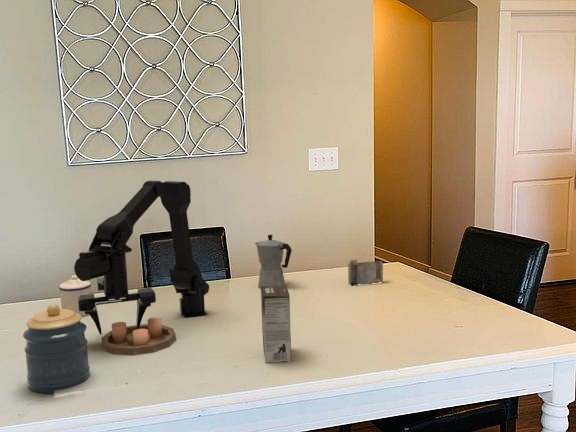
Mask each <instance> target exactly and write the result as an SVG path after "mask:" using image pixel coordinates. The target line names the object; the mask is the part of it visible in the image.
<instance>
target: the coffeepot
mask: <svg viewBox="0 0 576 432" xmlns="http://www.w3.org/2000/svg"><path fill="white" fill-rule="evenodd" d="M254 245H256V250H257V256H258V261H259V263H260V266H261V267H260V269H259V277H258V284H257V285H258V286H257V287H258V289H260V290H261V286H284V285H286V282H285V276H284V272H283V269H287V268H288V265H289V263H290V259H291V255H292V251H293V249H292V247H291V246H290V245H289V243H285V242H283V241H280V240H273V235H272V234H268V235H267V240H262V241H256V242H255V243H254ZM284 250H286V253H285V259H284ZM283 259H284V264H282V262H283Z"/></svg>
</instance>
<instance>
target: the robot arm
mask: <svg viewBox="0 0 576 432" xmlns="http://www.w3.org/2000/svg"><path fill="white" fill-rule="evenodd" d="M191 195H192V194H191V187H190V185H189V184H188V183H187V182H185V181H176V180H175V181H173V180H172V181H171V180H166V181H164V182H163V181H161V180H146V181H145V182H143V184H142V187H141V188H140V189H139V190H138V192H136V194H134V195H133V197H132V198H131V199H130V200H129V201H128V202H127V203H125V204H126V205H124V207H122V209H121V210H120V211H119V212H117V213H116V214H114V215H112V216H110V217H108V218H106V219H105V220H103V222H101V223H99V224H98V226H97V228H96V232H95V234H94V236H93V239H92V241H91V244H90V245H89V247H88V251H82V252H79V253H78V254H79V255H78V256H79V257H78V258H77V259H76V261H75V263H74V266H73V269H74V273H75V275H76V276H77V277H78V278H79V279H80V280H81V281H90V280H95V279H96V284H97V291H100V292H101V291H103V294H104V296H97V297H95V294H94V293H91V294H88V295H80V296H79V297H78V304H79V311H85V314H89V316H90V317H91V319H92V320H93V322H94V324H95V327H96V328H97V329H96V330H97V331H98V333H99V335H102V334H103V333H102V325H101V322H100V317H99V313H98V309H97V308H98V307H97V306H98V305H99V306H100V305H108V304H109V305H110V304H117V303H127V302H134V301H135V302H136V320H135V321H136V323H135V324H136V325H137V329H139V327H140V325H142V321H143V317H144V315H145V312H146V311H147V308H149V307H151V306H152V305H151V304H155V303H156V302H157V298H156V293H155V292H156V291H155V290H154V289H153V288H152V287H143V288H137V292H133V293H132V292H131V293H129V284H128V283H129V282H128V270H127V269H128V268H127V255H126V254H127V253H131V252H132V251H133V249H132V248H131V247H130V246H128V245H127V243H128V242H129V240H130V238H131V237H132V235H133V233H134V226H135V225H136V223H137V222H138V221H139V219H141V218H142V217H143V215H144V214H145V213H146V212H147V210H149V209H150V207H151V206H152V205H153V203H155V201H157V199H158V198H159V199H160V202H161V205H162V206H163V207H164V209H165V211H166V212H167V214H168V216H169V222H170V223H169V224H170V229H171V230H170V231H171V238H172V243H173V251H174V252H173V253H174V259H175V262H174V265H173V267H172V268H170V269H169V274H170V283H172V286H173V287H174V290H175V293H176V294H180V297H179V312H180V313H181V315H182V316H183V317H184V318H188V317H195V316H196V317H197V316H198V317H199V316H204V315H207V312H206V311H205V310H206V309H205V307H206V306H205V296H206V295H207V294H208V293H209V292H210V291H209V290H210V285H209V284H208V283H207V282H206V281H205V279H204V278H203V276H202V272H201V269H200V266H199V264H198V263H196V261H195V259H194V255H193V248H192V241H191V234H190V226H189V219H188V209H189V206H190V205H191V203H192V202H191V200H192V199H191V197H192V196H191Z"/></svg>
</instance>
